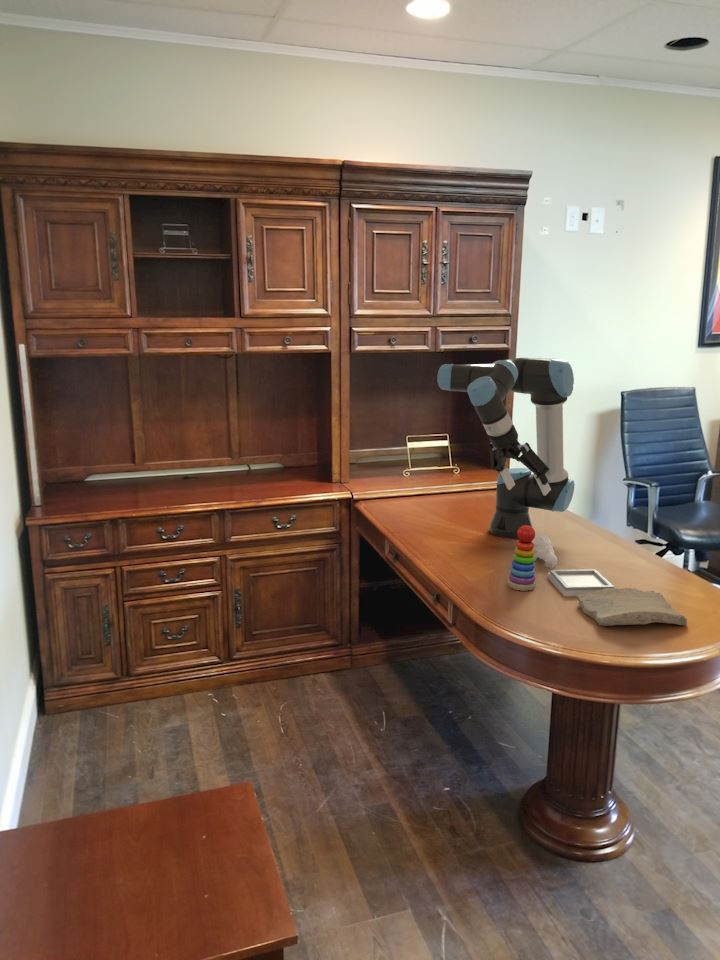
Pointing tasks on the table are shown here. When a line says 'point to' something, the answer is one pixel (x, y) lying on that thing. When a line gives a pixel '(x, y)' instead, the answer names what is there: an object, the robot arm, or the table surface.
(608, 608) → the tablet
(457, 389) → the robot arm
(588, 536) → the table surface
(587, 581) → the tray
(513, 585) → the stacking toy
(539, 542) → the lumpy white figurine
